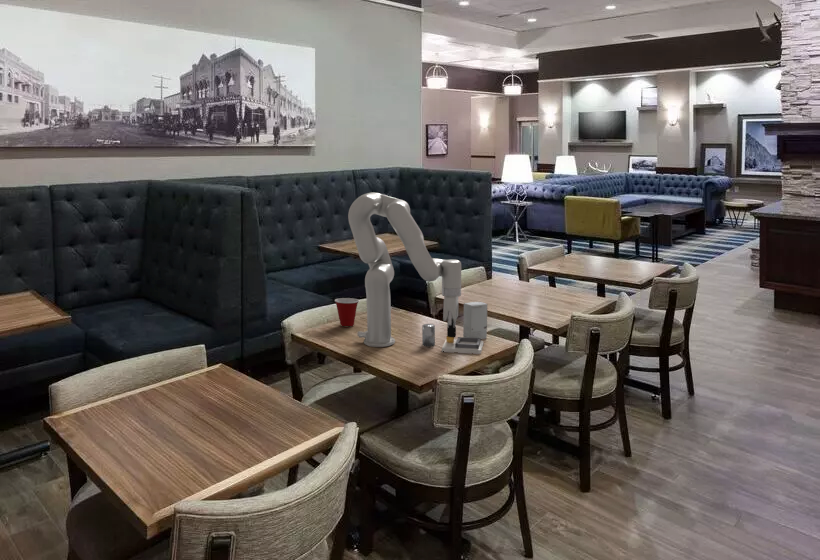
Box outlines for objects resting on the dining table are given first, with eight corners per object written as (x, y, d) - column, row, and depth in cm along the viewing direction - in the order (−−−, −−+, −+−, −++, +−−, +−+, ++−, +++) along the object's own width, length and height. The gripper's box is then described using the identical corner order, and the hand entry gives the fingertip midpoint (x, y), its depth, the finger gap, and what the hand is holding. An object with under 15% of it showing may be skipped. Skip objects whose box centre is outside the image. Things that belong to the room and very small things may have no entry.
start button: (445, 342, 248) (445, 337, 248) (447, 340, 251) (447, 335, 251) (453, 342, 248) (453, 337, 247) (454, 340, 251) (454, 335, 250)
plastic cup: (364, 324, 281) (364, 298, 278) (349, 330, 272) (349, 303, 269) (345, 320, 287) (344, 295, 284) (330, 326, 278) (329, 300, 275)
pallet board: (441, 351, 243) (441, 344, 242) (446, 342, 254) (446, 335, 253) (480, 354, 240) (480, 346, 239) (483, 344, 251) (483, 337, 251)
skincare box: (470, 341, 255) (470, 305, 252) (462, 337, 260) (462, 302, 257) (487, 338, 259) (488, 303, 256) (479, 334, 264) (479, 300, 261)
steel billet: (421, 346, 250) (421, 326, 248) (423, 342, 254) (423, 323, 253) (433, 346, 249) (433, 327, 247) (435, 343, 253) (435, 324, 252)
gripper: (444, 287, 253) (444, 330, 257) (439, 295, 239) (439, 341, 242) (463, 287, 252) (463, 331, 255) (458, 296, 237) (458, 342, 241)
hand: (451, 336), depth 249 cm, fingers closed
